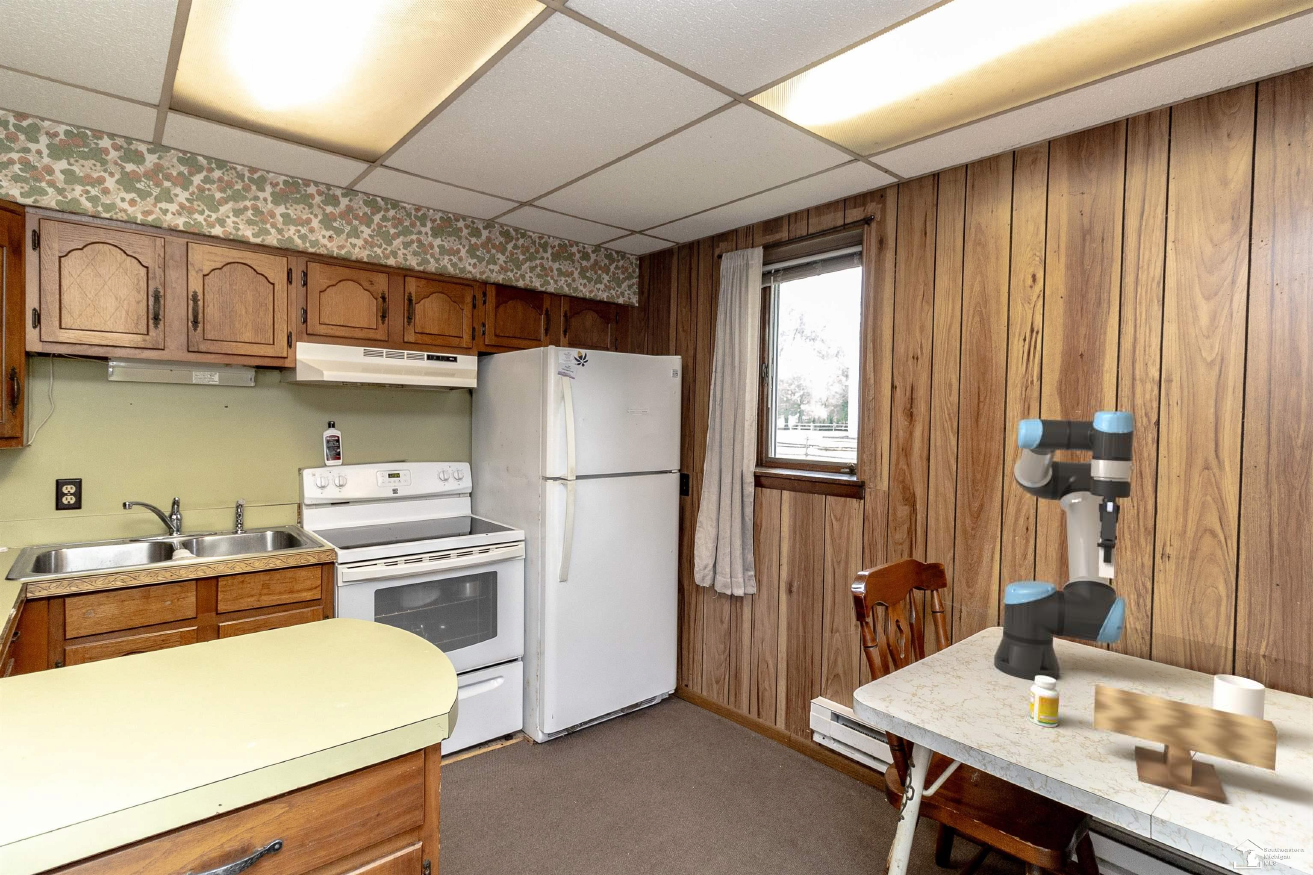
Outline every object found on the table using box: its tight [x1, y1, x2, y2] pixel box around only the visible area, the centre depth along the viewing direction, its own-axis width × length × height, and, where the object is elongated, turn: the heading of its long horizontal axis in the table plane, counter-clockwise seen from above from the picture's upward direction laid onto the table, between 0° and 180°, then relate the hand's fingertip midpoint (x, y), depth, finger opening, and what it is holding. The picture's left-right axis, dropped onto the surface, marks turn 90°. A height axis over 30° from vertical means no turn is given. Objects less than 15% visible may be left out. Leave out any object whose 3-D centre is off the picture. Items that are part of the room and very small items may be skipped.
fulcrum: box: [1134, 744, 1226, 805], centre depth 122 cm, size 12×14×6 cm
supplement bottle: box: [1028, 675, 1060, 728], centre depth 142 cm, size 5×5×10 cm
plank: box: [1093, 683, 1278, 771], centre depth 122 cm, size 26×4×7 cm, turn 56°
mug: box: [1211, 674, 1266, 720], centre depth 140 cm, size 12×8×12 cm
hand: (1105, 572), depth 150 cm, fingers open, 13 cm apart
